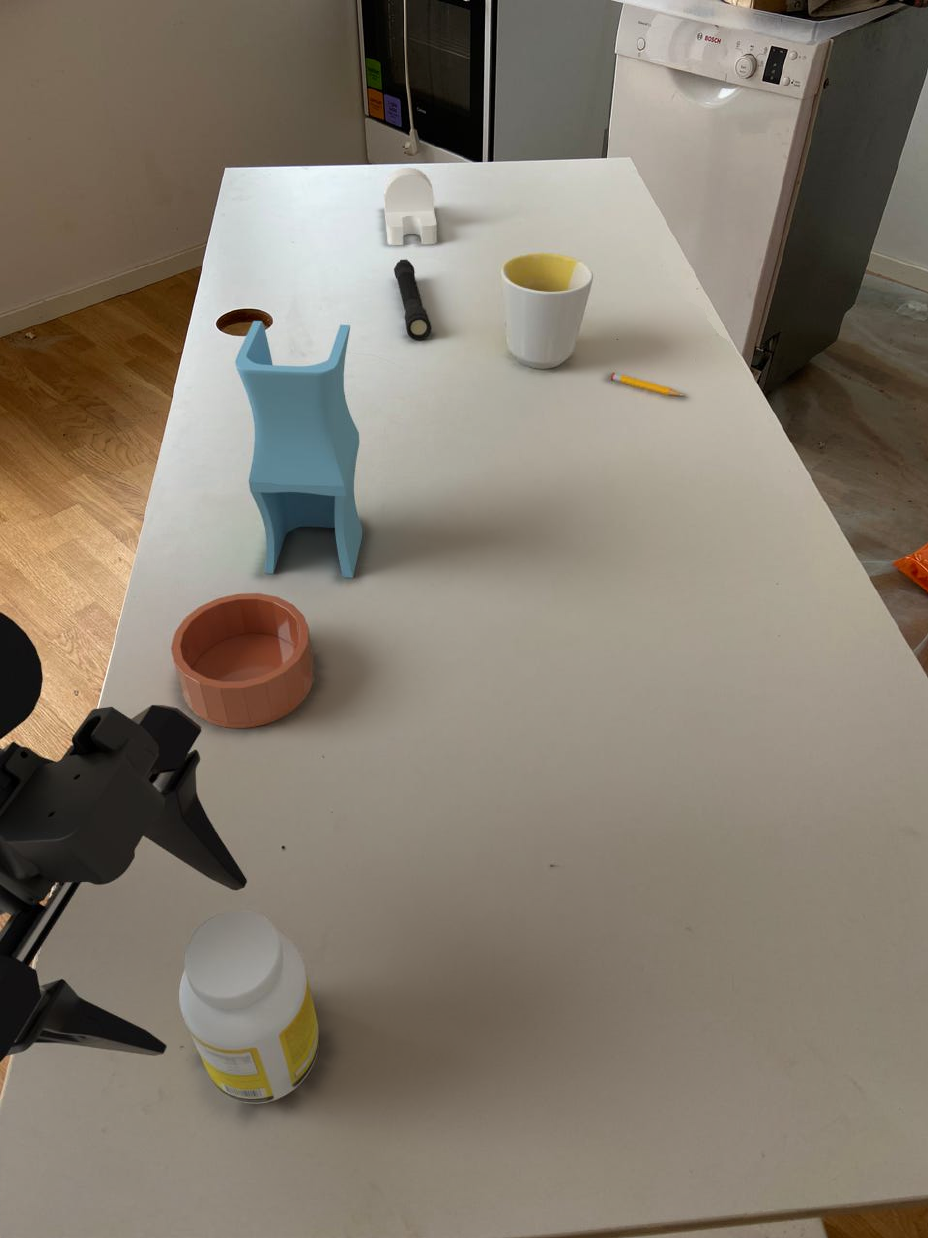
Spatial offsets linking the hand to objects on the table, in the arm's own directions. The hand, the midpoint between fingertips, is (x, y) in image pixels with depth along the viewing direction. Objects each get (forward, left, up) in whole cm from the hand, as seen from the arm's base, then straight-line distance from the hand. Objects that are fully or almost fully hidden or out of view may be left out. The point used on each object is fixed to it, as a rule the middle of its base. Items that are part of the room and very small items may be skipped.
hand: (204, 963), depth 50 cm
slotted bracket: (+47, +109, -9) cm, 119 cm away
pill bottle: (+2, -1, -9) cm, 10 cm away
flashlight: (+39, +84, -9) cm, 93 cm away
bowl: (+7, +28, -9) cm, 30 cm away
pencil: (+58, +57, -9) cm, 81 cm away
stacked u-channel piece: (+16, +42, -9) cm, 46 cm away
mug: (+50, +69, -9) cm, 85 cm away
